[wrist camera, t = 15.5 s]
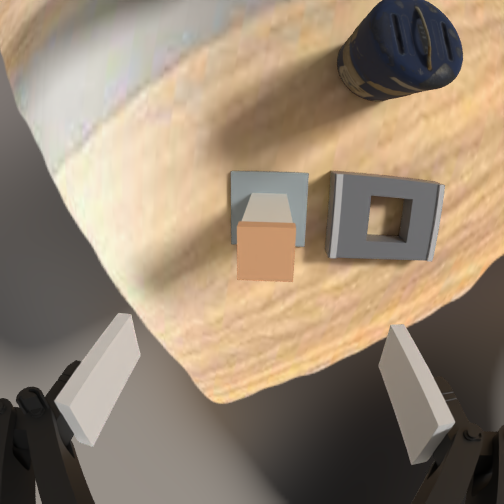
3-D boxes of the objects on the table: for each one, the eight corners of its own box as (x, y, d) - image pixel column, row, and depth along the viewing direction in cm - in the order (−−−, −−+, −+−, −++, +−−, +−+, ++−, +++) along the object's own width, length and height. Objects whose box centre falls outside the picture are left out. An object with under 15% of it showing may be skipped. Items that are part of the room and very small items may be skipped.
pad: (232, 242, 44) (231, 244, 43) (231, 170, 40) (230, 171, 39) (303, 245, 43) (304, 246, 42) (308, 173, 39) (308, 173, 39)
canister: (403, 49, 32) (473, 12, 15) (397, 110, 35) (472, 102, 18) (337, 31, 32) (377, -29, 15) (330, 93, 35) (372, 65, 19)
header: (324, 249, 43) (328, 258, 40) (330, 170, 39) (335, 173, 36) (424, 252, 42) (433, 261, 39) (435, 181, 38) (446, 185, 35)
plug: (250, 226, 42) (237, 279, 27) (250, 191, 40) (236, 226, 25) (286, 228, 42) (292, 281, 27) (287, 192, 40) (296, 228, 25)
